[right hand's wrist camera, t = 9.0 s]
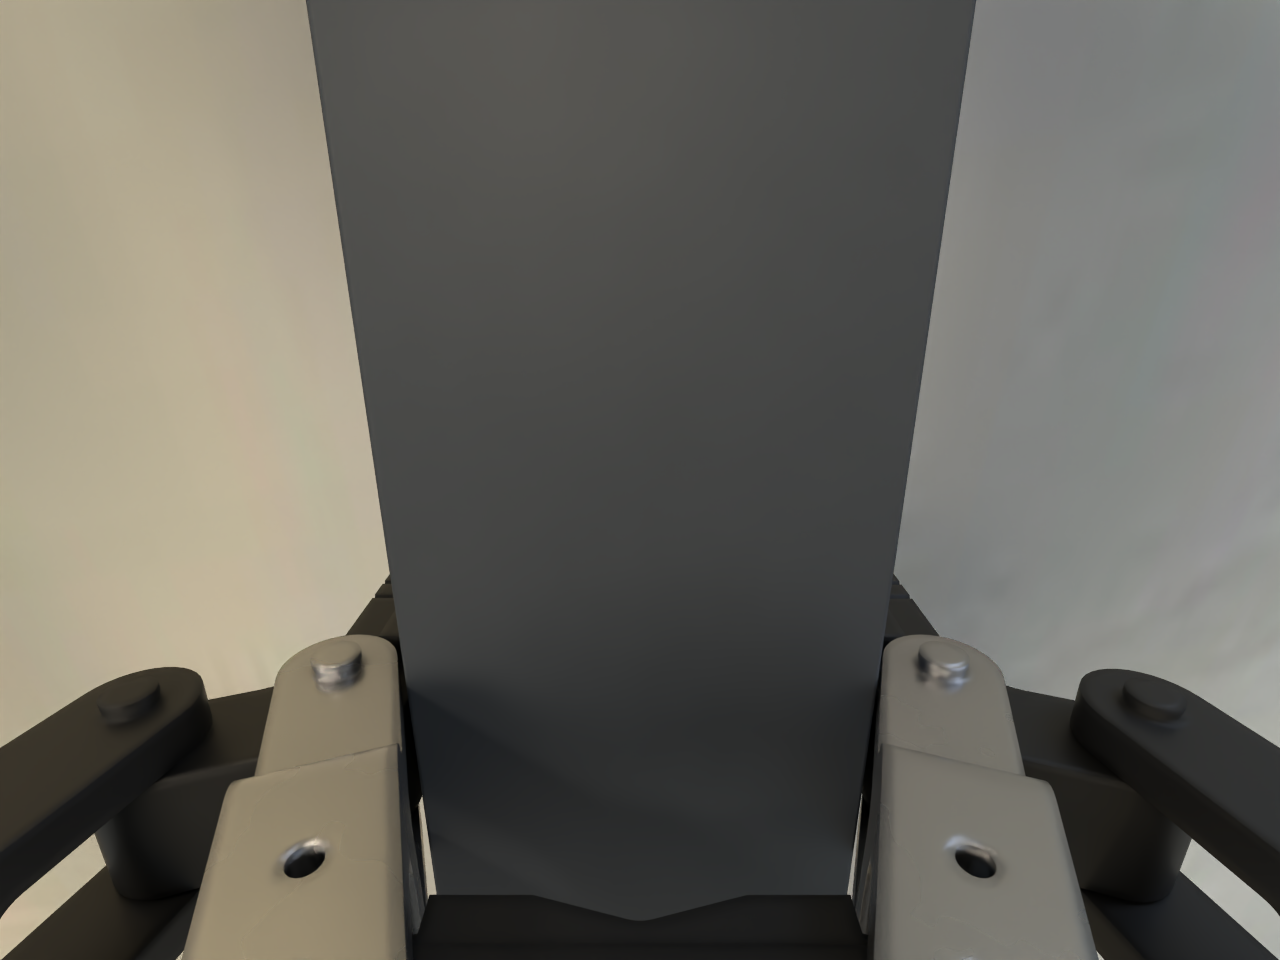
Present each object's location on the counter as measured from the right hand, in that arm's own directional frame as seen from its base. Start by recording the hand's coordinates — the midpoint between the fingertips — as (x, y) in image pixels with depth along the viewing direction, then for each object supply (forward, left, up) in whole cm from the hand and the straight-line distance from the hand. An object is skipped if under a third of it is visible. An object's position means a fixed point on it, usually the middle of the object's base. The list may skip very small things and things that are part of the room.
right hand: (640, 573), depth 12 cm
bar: (-5, +9, -4) cm, 11 cm away
